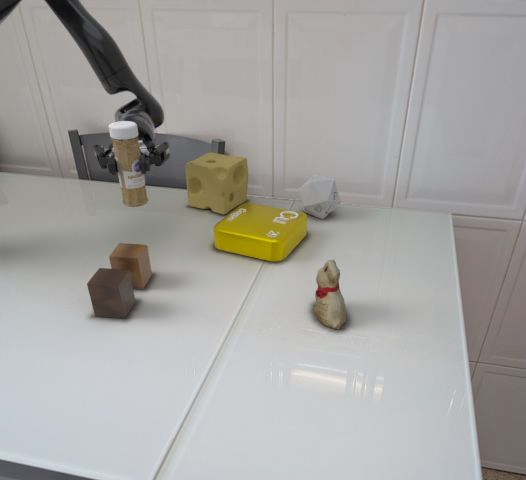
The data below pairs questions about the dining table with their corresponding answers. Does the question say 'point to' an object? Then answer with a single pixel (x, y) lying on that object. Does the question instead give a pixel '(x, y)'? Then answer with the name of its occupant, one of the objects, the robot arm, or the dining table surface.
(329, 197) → the die
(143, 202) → the sprinkles bottle
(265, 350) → the dining table surface
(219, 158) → the cheese
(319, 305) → the chocolate bunny
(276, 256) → the element tile
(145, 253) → the oak block
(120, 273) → the walnut block
